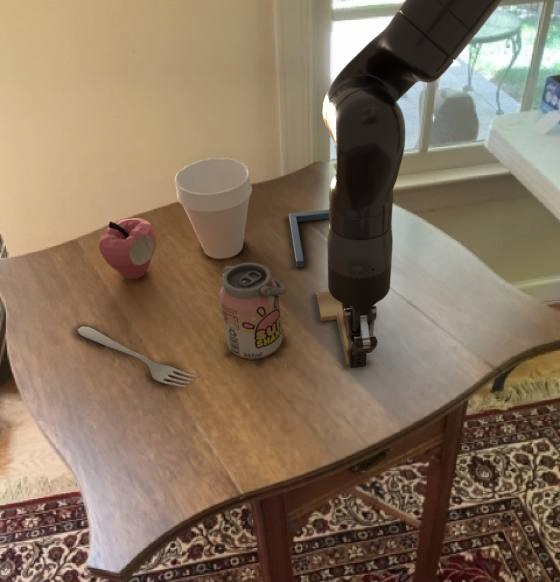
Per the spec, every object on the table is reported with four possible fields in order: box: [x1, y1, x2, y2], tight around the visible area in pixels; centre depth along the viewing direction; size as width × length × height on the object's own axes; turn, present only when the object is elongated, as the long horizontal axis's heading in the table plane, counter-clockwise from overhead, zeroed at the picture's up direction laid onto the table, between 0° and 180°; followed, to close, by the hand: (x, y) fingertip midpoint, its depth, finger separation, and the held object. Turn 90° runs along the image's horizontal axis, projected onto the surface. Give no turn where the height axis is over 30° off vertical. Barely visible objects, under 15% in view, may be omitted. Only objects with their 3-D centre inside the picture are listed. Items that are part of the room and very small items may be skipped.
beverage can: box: [218, 262, 287, 361], centre depth 92 cm, size 9×8×12 cm
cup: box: [174, 157, 253, 260], centre depth 110 cm, size 12×12×14 cm
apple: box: [98, 217, 158, 280], centre depth 108 cm, size 10×9×10 cm
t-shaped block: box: [316, 291, 350, 366], centre depth 96 cm, size 16×7×3 cm, turn 5°
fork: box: [77, 326, 199, 388], centre depth 95 cm, size 3×24×2 cm, turn 53°
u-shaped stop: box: [288, 209, 329, 268], centre depth 114 cm, size 15×12×1 cm
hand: (357, 364), depth 89 cm, fingers closed
